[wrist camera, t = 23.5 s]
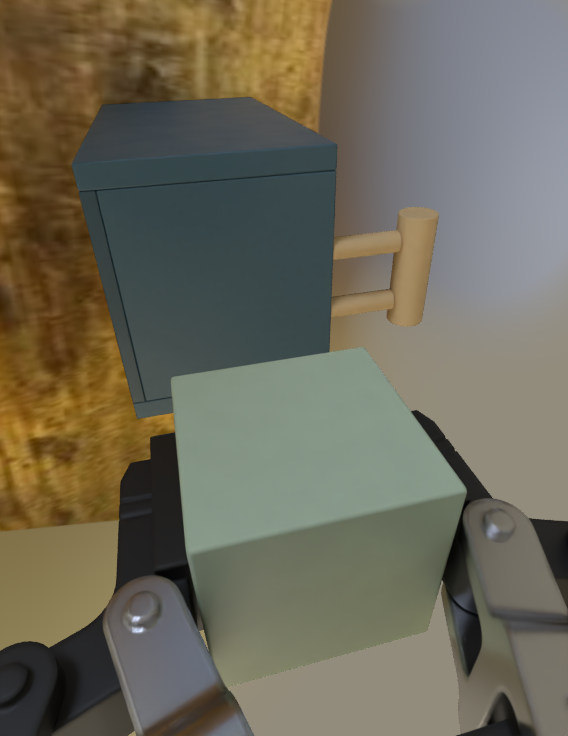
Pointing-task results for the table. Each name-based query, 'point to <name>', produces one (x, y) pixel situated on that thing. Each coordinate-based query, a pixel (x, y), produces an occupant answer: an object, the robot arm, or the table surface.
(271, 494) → the block
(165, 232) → the shelf
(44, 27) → the table surface
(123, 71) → the table surface
